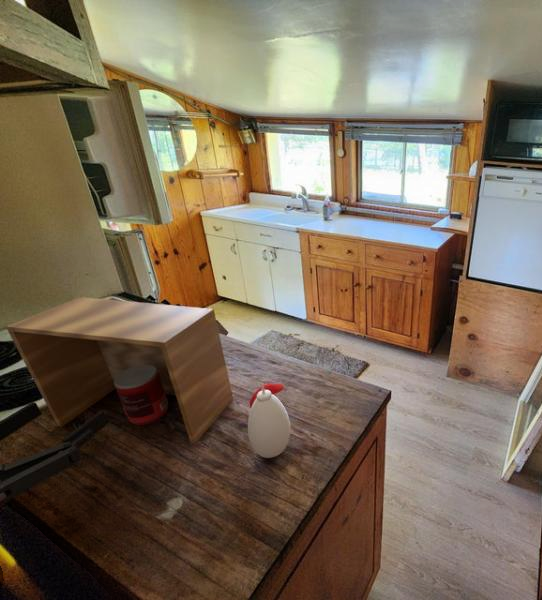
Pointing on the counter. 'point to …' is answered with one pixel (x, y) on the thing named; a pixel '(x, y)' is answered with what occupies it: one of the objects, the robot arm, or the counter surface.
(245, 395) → the counter surface
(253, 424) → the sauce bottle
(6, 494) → the robot arm
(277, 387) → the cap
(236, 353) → the counter surface
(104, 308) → the cupboard
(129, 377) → the canned food
